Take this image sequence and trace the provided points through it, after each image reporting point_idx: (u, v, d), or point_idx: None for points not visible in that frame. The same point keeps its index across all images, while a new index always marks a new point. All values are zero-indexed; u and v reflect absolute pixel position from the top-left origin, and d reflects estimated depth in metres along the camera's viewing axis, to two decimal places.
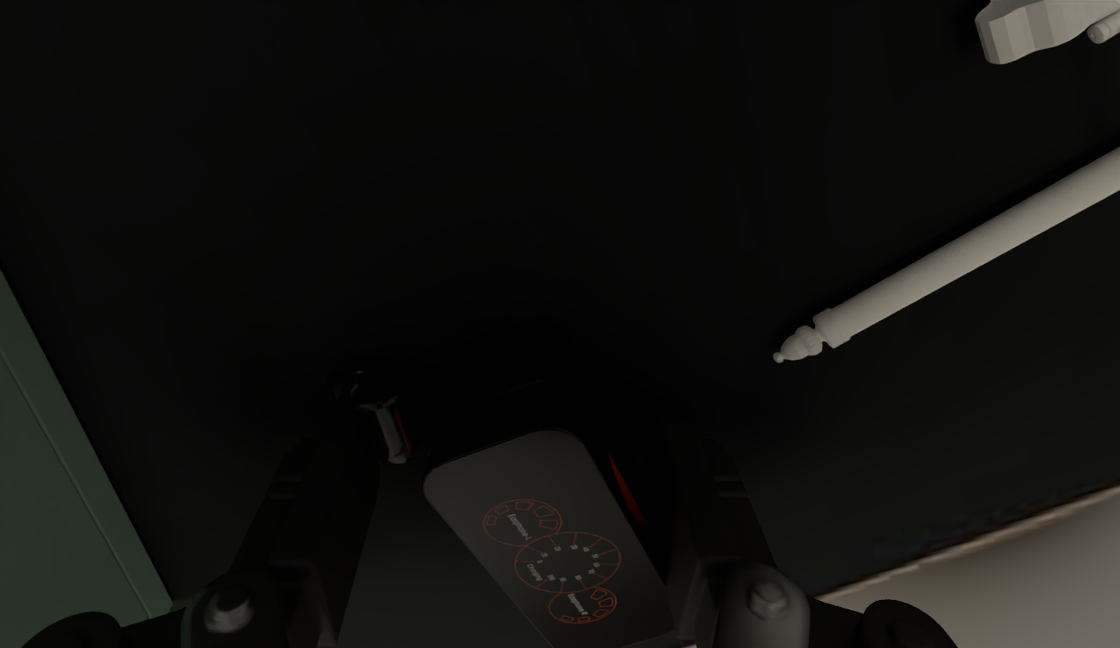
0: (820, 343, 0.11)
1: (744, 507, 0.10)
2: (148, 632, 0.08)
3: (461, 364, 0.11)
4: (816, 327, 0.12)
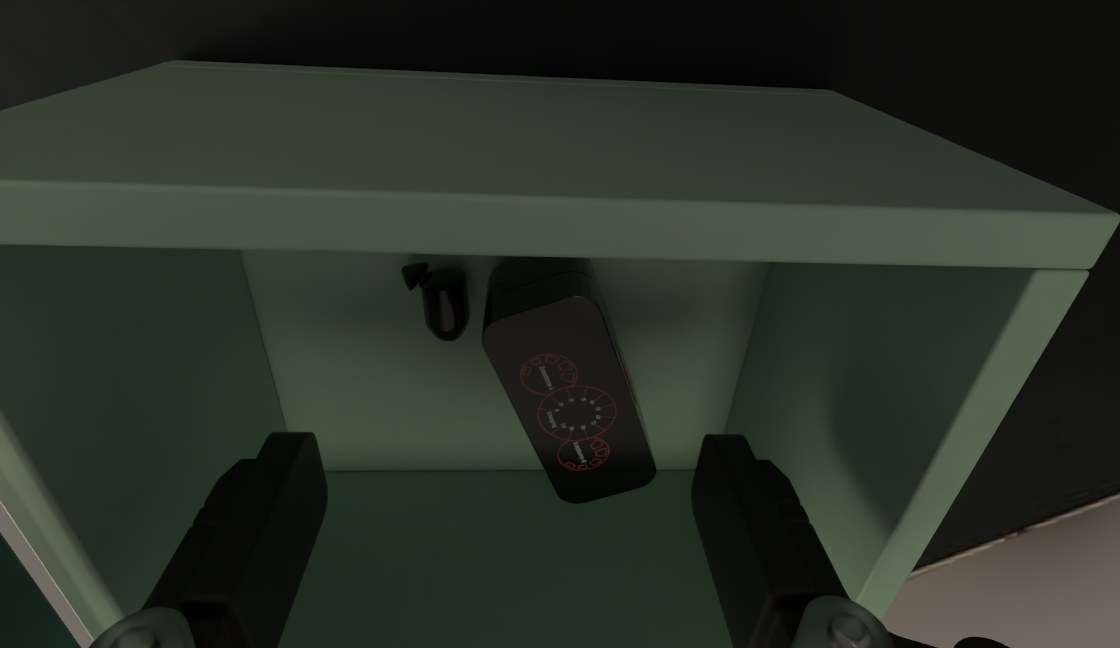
0: None
1: (808, 533, 0.10)
2: None
3: (506, 265, 0.15)
4: None
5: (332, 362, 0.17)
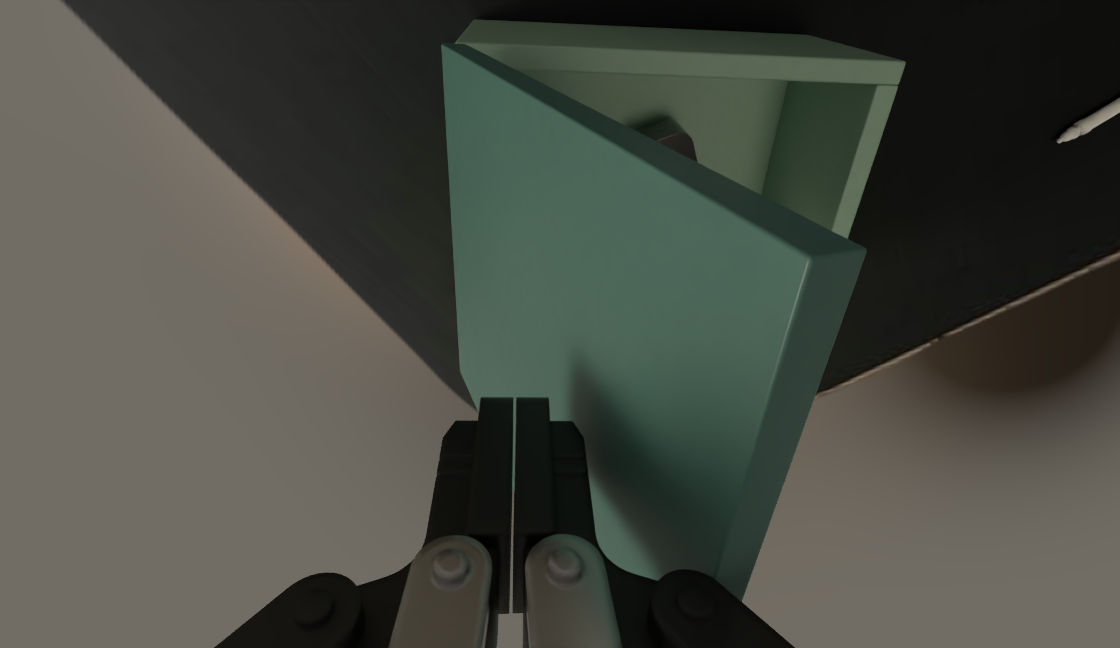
0: (1079, 132, 0.30)
1: (581, 484, 0.11)
2: (369, 594, 0.09)
3: (635, 130, 0.28)
4: (1076, 126, 0.30)
5: None
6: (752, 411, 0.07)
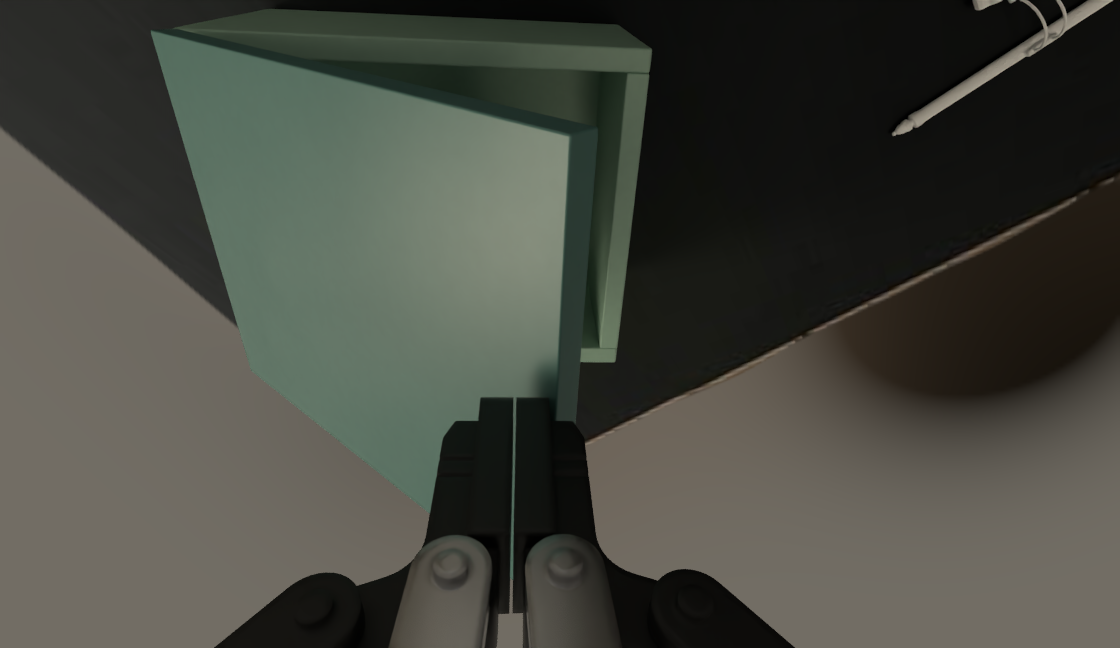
0: (912, 124, 0.29)
1: (581, 484, 0.11)
2: (370, 594, 0.09)
3: None
4: (910, 119, 0.29)
5: None
6: (557, 252, 0.11)
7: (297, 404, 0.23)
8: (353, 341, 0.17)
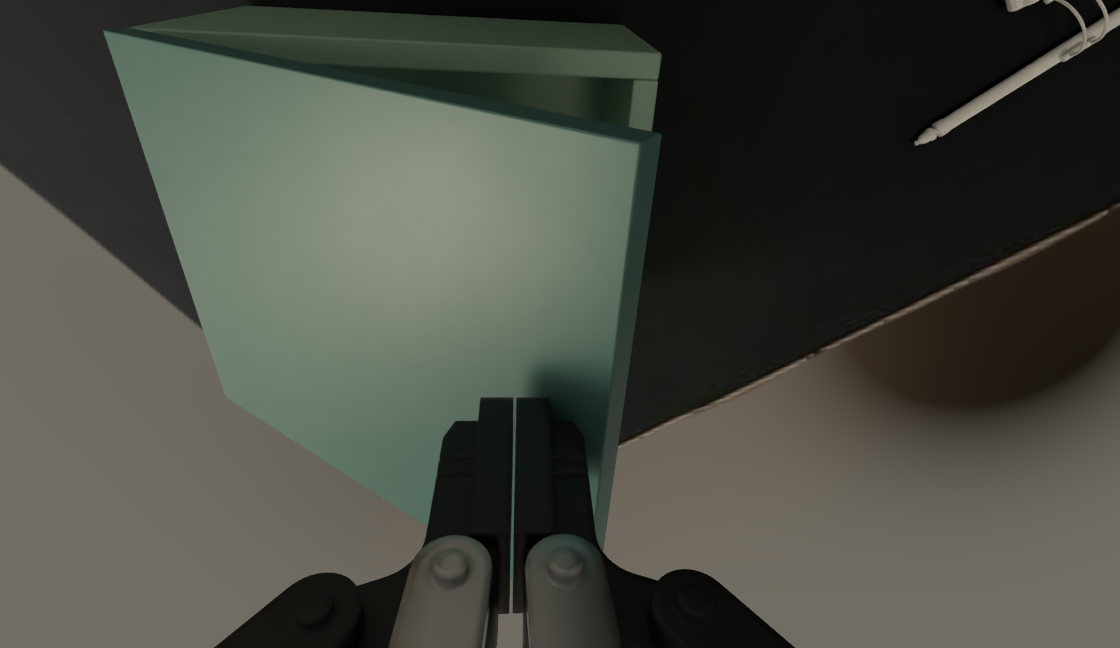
0: (936, 133, 0.27)
1: (581, 485, 0.11)
2: (369, 594, 0.09)
3: None
4: (934, 128, 0.27)
5: None
6: (616, 267, 0.10)
7: (284, 430, 0.21)
8: (357, 363, 0.16)
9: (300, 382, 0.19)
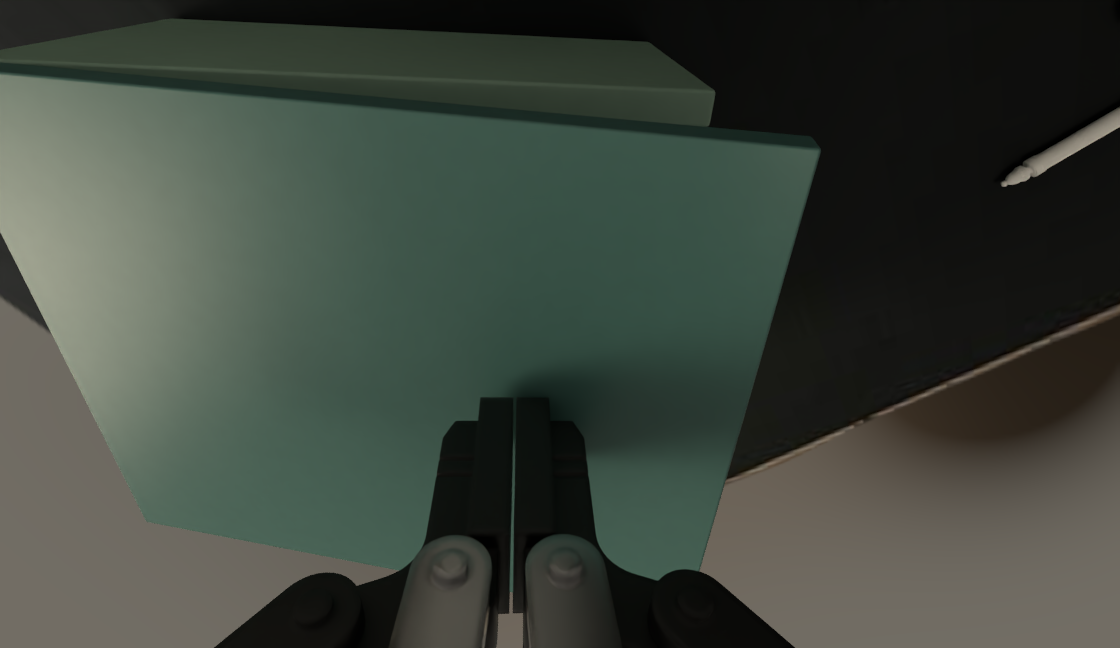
0: (1029, 173, 0.22)
1: (581, 484, 0.11)
2: (370, 594, 0.09)
3: None
4: (1026, 165, 0.22)
5: None
6: (775, 272, 0.10)
7: (255, 537, 0.17)
8: (395, 434, 0.14)
9: (292, 474, 0.15)
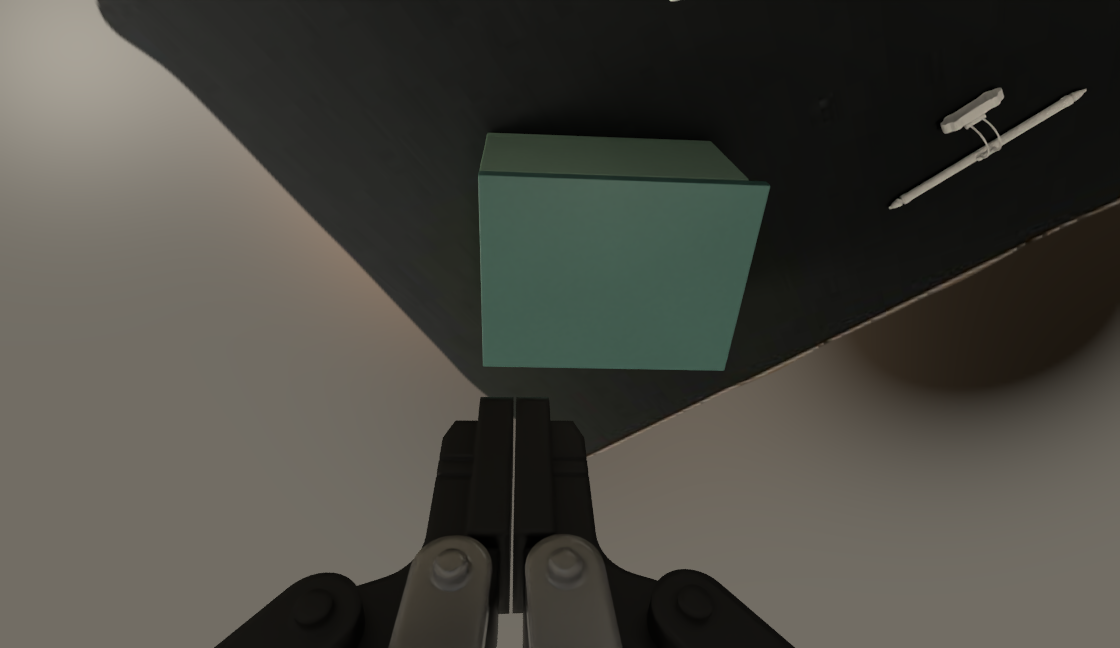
0: (902, 202, 0.43)
1: (581, 484, 0.11)
2: (370, 594, 0.09)
3: None
4: (900, 198, 0.43)
5: None
6: (758, 221, 0.34)
7: (539, 364, 0.39)
8: (620, 298, 0.37)
9: (569, 325, 0.37)
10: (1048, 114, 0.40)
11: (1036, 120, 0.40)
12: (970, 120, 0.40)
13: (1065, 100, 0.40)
